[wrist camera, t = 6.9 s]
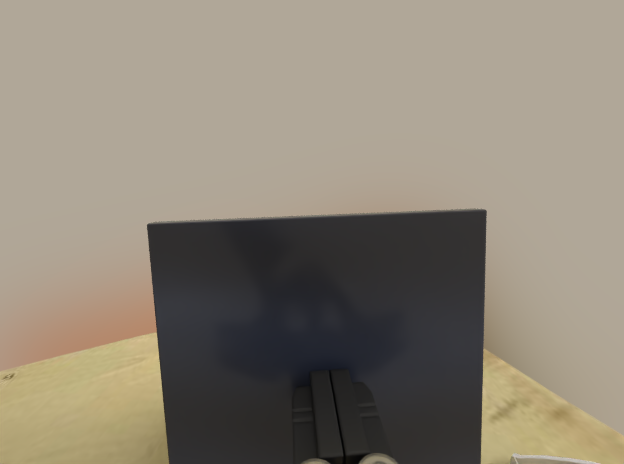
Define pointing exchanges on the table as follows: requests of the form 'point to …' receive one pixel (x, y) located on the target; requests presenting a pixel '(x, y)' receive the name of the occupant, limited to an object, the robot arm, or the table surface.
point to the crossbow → (545, 460)
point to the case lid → (320, 328)
